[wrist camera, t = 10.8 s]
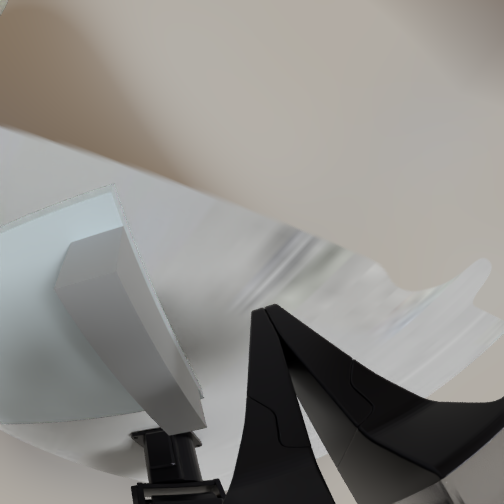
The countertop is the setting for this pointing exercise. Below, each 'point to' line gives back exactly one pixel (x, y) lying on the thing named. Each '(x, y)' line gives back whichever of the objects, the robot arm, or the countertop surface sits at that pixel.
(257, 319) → the robot arm
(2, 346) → the lid
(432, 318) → the countertop surface
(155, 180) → the countertop surface
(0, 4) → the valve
